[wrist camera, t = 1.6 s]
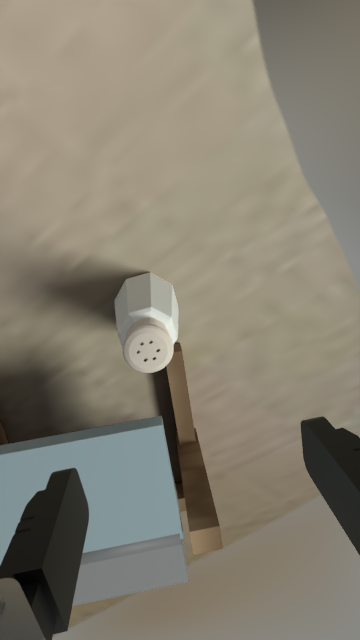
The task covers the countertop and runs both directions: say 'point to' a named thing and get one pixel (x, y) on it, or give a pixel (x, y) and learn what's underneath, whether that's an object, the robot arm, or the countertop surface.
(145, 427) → the trapdoor
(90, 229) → the countertop surface
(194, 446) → the wooden frame stand
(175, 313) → the pepper shaker
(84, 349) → the countertop surface
